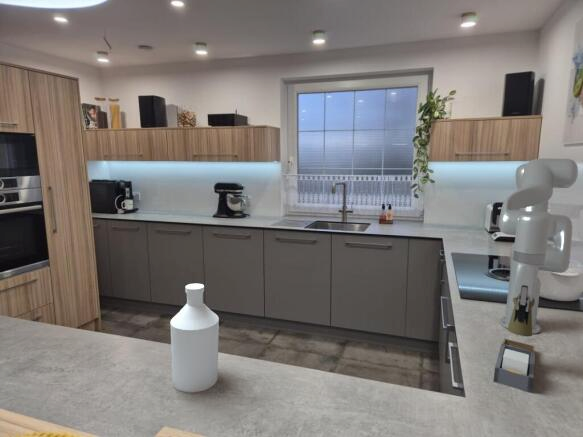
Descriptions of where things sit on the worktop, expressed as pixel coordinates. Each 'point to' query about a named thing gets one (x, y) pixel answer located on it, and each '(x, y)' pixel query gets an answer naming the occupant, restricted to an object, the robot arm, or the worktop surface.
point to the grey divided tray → (514, 377)
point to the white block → (515, 361)
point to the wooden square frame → (519, 345)
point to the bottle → (194, 343)
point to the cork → (518, 326)
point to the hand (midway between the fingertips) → (521, 320)
